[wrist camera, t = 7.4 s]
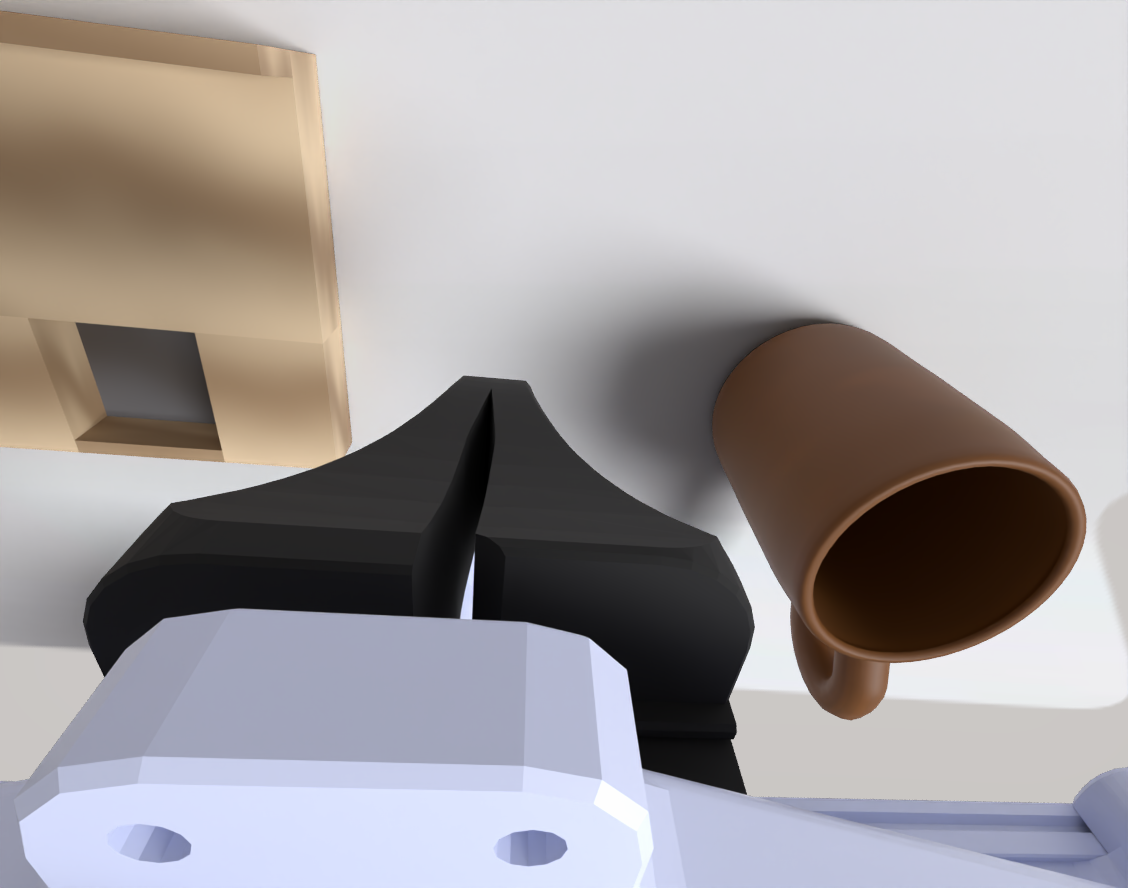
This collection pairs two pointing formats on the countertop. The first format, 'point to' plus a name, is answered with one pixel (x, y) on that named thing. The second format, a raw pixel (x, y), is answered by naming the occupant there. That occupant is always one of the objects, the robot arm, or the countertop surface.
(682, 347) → the countertop surface
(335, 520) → the robot arm
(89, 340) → the platform
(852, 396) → the mug
